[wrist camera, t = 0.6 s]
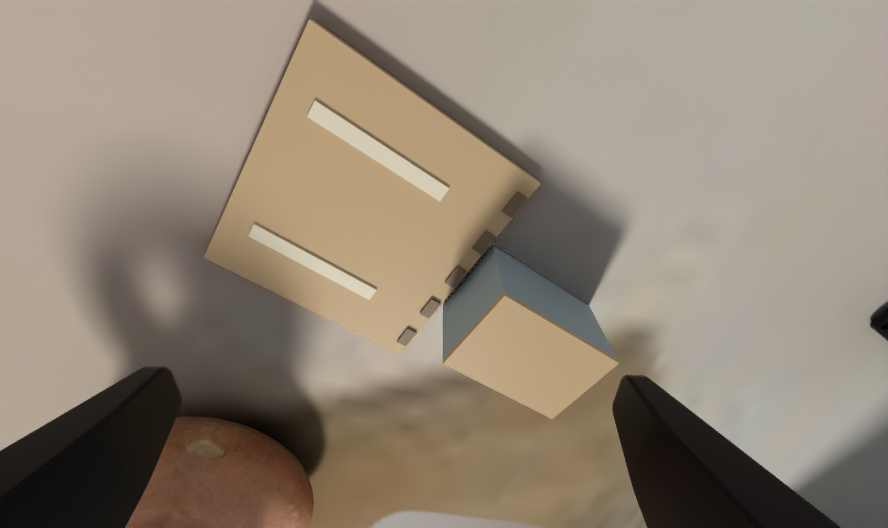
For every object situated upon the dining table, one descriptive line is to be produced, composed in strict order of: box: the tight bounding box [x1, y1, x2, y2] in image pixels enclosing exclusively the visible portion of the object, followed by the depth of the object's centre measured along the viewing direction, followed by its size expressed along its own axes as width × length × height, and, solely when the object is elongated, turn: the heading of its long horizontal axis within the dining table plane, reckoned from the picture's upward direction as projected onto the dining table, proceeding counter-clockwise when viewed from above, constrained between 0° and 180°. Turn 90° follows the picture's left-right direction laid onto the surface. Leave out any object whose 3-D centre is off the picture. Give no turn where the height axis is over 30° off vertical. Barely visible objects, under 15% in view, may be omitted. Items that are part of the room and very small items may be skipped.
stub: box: [443, 246, 619, 419], centre depth 22 cm, size 7×5×5 cm
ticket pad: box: [204, 19, 541, 355], centre depth 21 cm, size 12×13×1 cm
